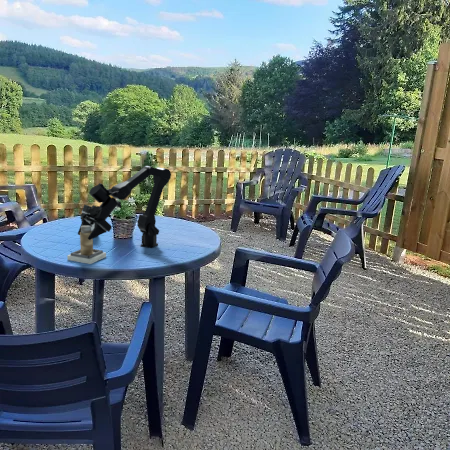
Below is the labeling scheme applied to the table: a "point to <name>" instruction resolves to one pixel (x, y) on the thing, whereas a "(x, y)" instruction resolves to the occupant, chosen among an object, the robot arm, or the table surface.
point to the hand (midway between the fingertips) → (83, 236)
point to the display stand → (87, 259)
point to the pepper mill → (86, 240)
